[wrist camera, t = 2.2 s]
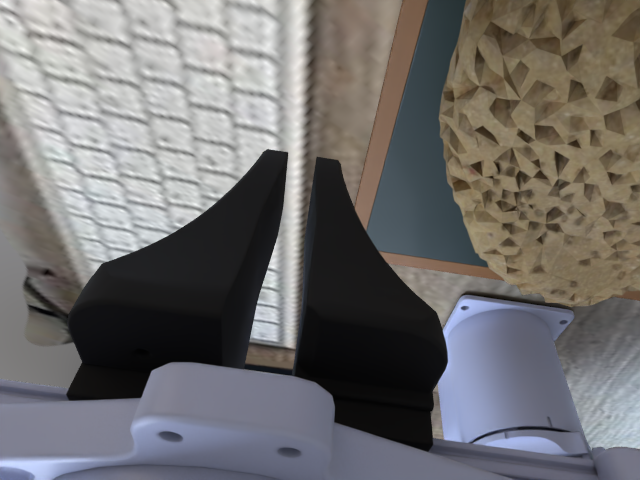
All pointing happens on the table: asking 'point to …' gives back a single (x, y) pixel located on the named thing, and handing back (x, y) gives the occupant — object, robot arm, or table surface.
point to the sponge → (548, 143)
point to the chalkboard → (418, 152)
